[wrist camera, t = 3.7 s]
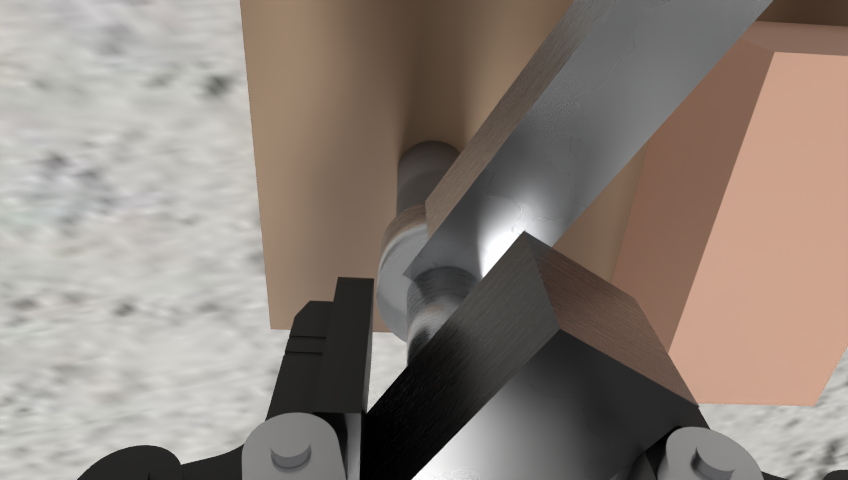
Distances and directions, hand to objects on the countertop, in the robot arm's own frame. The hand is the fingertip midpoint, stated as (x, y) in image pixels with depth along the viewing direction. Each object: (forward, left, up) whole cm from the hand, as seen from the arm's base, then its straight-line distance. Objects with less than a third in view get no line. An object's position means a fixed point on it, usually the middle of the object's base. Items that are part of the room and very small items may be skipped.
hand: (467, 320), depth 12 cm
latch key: (-1, -2, -4) cm, 4 cm away
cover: (-10, +1, -9) cm, 13 cm away
